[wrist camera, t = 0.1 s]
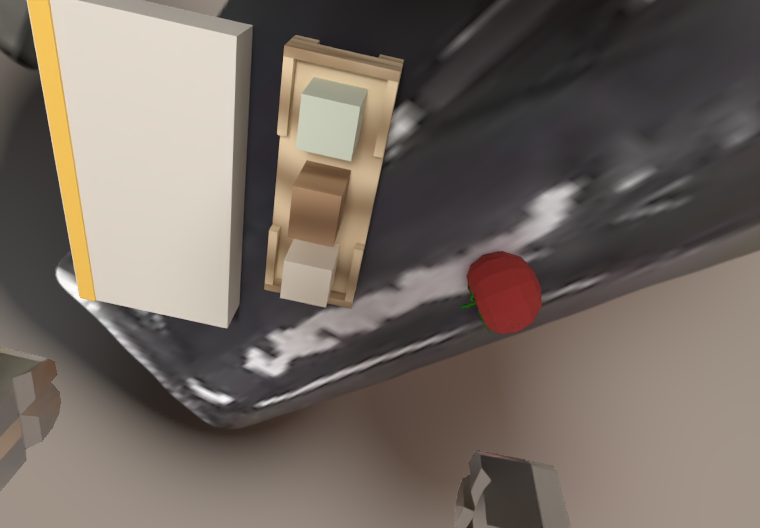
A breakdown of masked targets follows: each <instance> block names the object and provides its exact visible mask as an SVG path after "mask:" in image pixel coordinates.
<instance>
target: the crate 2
mask: <svg viewBox="0 0 760 528" xmlns="http://www.w3.org/2000/svg"><path fill="white" fill-rule="evenodd" d="M339 250H340V244H336V243H335V244H334V247H329V246H325V245H320V244H316V243H311V242H307V241H302V240H297V239H293V242H292V244H291V246H290V248H289V250H288V253H287V255H286V257H285V259H284V265H283V275H282V284H281V294H280V298H284V299H288V300H293V301H298V302H302V303H307V304H311V305H316V306H320V307H325V308H326V305H327V302H328V299H329V295H330V292H331V289H332V285H333V282H334V278H335V272H336V267H337V261H338V255H339Z"/></svg>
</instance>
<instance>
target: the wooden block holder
mask: <svg viewBox="0 0 760 528" xmlns="http://www.w3.org/2000/svg"><path fill="white" fill-rule="evenodd" d="M319 42H320V41H319V40H315V39H311V38H306V37H302V36H298V35H295V36H294V37H293V38H292V39H291V40H290V41H289V42H287V43H286V44H285V45H284V56H283V68H282V80H281V93H280V105H279V117H278V129H277V135H280V144H279V156H278V167H277V179H276V191H275V202H274V214H273V224H272V226H271V228H270V230H269V239H268V251H267V263H266V275H265V287H264V290H269V291H273V292H278V293H281V284H282V275H283V265H284V259H285V257H286V255H287V253H288V250H289V248H290V246H291V244H292V242H293V239H297V240H302V241H307V242H311V243H316V244H320V245H325V246H329V247H334V244H335V243H336V244H340V250H339V255H338V261H337V267H336V272H335V278H334V282H333V285H332V289H331V292H330V295H329V299H328V302H327V303H328V304H333V305H337V306H342V307H347V308H351V307H352V303H353V299H354V295H355V291H356V286H357V282H358V277H359V272H360V267H361V262H362V258H363V253H364V248H365V243H366V239H367V234H368V229H369V224H370V220H371V215H372V210H373V205H374V201H375V196H376V191H377V186H378V182H379V177H380V172H381V167H382V162H383V158H384V153H385V148H386V143H387V139H388V134H389V129H390V124H391V120H392V115H393V110H394V105H395V101H396V96H397V91H398V86H399V82H400V77H401V72H402V67H403V62H404V60H403V59H398V58H394V57H389V56H385V55H381V54H380V56H379V58H376V57H372V56H368V55H363V54H359V53H354V52H350V51H346V50H341V49H337V48H332V47H328V46H324V45H319ZM314 77H317V78H322V79H326V80H331V81H335V82H339V83H344V84H348V85H353V86H357V87H361V88H366V89H368V92H367V97H366V103H365V109H364V114H363V120H362V125H361V131H360V137H359V141H358V144H357V147H356V149H355V152H354V155H353V157H352V160H351V161H347V160H342V159H338V158H334V157H329V156H325V155H320V154H316V153H311V152H307V151H302V150H298V149H296V142H297V132H298V123H299V113H300V104H301V94H302V92H303V91H304V90H305V88H306V87H307V86H308V84H309V83H310V82H311V80H312V79H313V78H314Z"/></svg>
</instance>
